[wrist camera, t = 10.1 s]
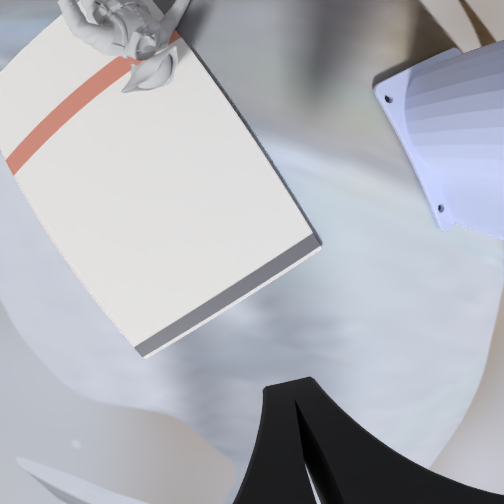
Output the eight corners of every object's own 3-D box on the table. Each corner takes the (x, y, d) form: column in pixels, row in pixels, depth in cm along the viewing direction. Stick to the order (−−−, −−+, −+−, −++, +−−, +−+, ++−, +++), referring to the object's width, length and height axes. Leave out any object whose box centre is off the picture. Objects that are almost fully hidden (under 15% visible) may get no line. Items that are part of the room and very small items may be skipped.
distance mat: (321, 247, 17) (322, 248, 17) (145, 357, 18) (144, 359, 18) (127, -29, 12) (126, -31, 12) (-21, 99, 13) (-23, 98, 13)
